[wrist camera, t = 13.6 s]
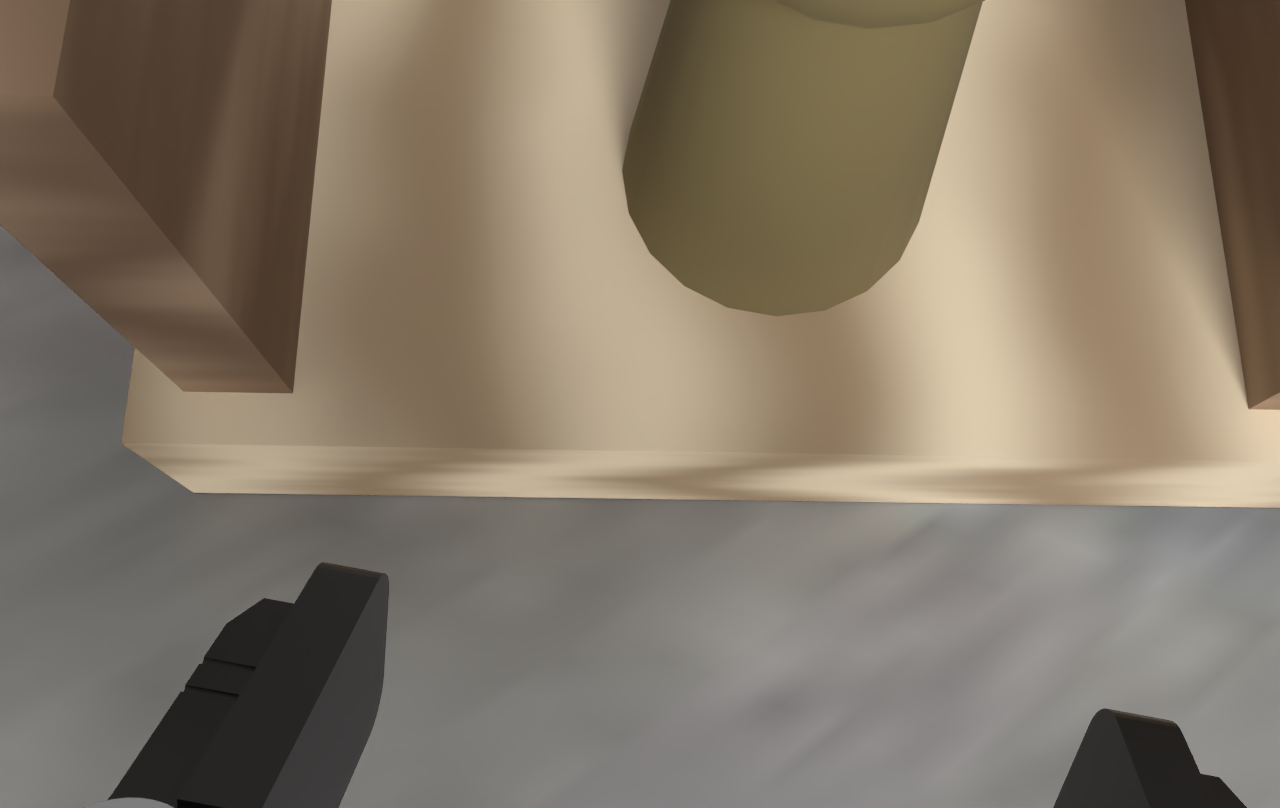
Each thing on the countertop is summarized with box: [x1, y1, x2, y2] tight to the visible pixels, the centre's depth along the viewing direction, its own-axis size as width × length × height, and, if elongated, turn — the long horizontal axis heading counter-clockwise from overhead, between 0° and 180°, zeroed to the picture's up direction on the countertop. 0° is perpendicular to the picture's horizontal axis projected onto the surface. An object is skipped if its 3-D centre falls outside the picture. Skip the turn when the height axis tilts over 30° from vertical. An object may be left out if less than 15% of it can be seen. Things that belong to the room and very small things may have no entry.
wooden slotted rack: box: [0, 0, 1280, 508], centre depth 20 cm, size 24×12×14 cm, turn 90°
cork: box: [622, 0, 985, 316], centre depth 18 cm, size 6×6×11 cm
